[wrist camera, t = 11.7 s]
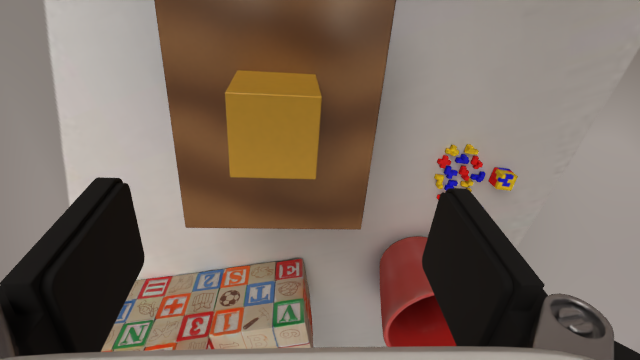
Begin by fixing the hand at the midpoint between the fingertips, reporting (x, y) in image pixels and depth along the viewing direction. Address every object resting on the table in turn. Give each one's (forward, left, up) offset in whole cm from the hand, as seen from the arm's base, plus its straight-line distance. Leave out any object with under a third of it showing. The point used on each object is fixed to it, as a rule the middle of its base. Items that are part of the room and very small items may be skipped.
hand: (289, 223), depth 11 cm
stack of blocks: (+26, -8, -23) cm, 36 cm away
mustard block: (+1, -1, -15) cm, 15 cm away
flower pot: (+22, +15, -23) cm, 36 cm away
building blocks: (+10, +19, -23) cm, 32 cm away
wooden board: (+1, -1, -16) cm, 16 cm away
